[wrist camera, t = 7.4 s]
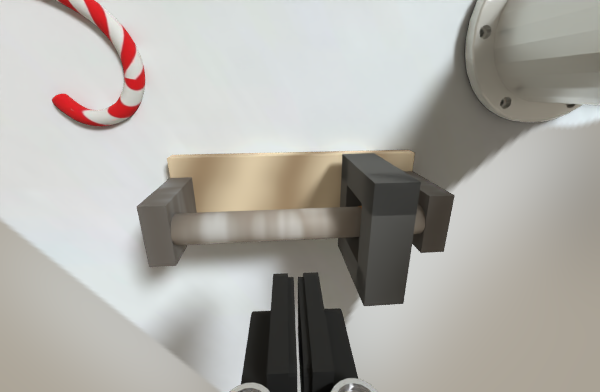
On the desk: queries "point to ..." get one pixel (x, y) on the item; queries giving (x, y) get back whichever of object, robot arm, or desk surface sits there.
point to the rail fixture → (270, 202)
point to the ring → (379, 226)
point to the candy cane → (132, 66)
